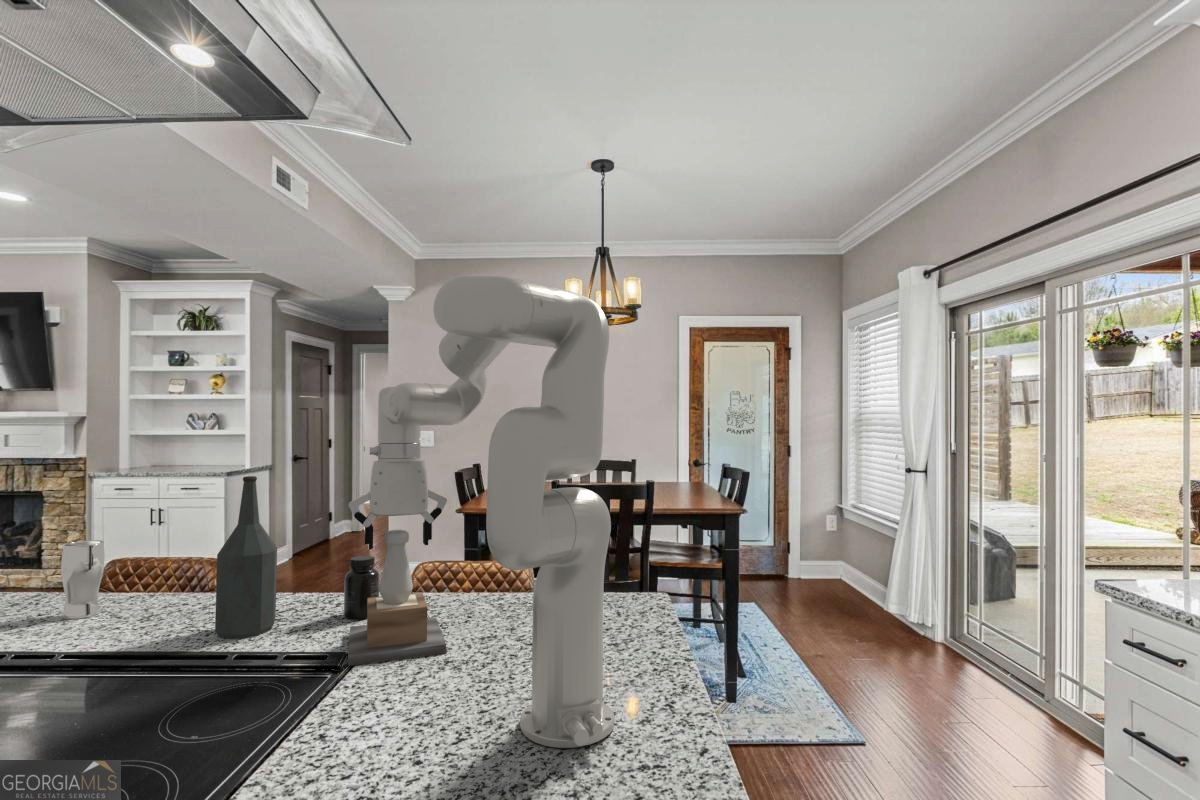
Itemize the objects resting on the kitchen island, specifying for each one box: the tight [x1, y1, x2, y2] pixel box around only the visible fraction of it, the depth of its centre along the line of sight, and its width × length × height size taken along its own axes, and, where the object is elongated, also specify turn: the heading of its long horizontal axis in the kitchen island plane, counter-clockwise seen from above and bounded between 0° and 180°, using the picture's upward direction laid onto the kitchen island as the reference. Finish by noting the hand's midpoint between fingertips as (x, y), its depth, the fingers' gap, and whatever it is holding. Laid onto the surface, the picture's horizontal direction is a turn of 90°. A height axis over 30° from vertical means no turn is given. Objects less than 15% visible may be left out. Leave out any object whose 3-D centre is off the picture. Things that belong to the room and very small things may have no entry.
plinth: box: [347, 592, 447, 667], centre depth 112 cm, size 16×16×8 cm
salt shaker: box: [379, 528, 414, 605], centre depth 112 cm, size 6×6×13 cm
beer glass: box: [60, 539, 105, 620], centre depth 128 cm, size 7×7×15 cm
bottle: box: [214, 475, 278, 640], centre depth 119 cm, size 10×10×30 cm
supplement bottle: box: [343, 555, 380, 621], centre depth 128 cm, size 7×7×12 cm
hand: (398, 546), depth 112 cm, fingers open, 9 cm apart
